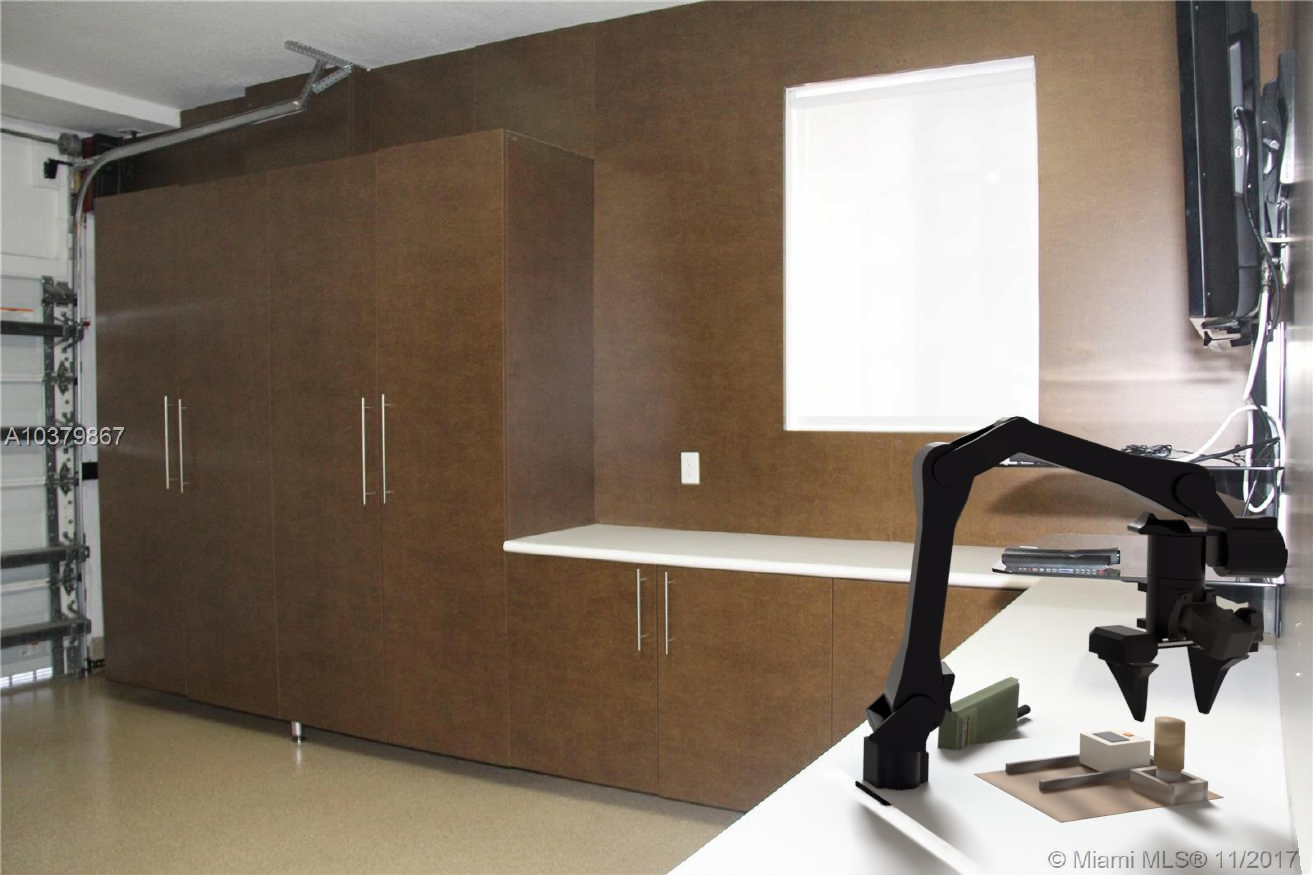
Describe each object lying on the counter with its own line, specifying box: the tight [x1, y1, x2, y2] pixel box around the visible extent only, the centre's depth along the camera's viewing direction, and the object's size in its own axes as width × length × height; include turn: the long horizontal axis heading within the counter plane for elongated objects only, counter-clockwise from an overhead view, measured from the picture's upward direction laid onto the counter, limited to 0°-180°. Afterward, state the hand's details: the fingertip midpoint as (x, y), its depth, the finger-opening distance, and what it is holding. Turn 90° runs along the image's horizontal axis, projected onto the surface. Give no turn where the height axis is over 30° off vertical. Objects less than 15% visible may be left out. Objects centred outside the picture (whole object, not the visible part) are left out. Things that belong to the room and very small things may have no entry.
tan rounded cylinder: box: [1153, 715, 1186, 784], centre depth 109 cm, size 3×3×8 cm
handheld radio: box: [936, 676, 1032, 751], centre depth 132 cm, size 7×3×25 cm
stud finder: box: [1079, 727, 1151, 772], centre depth 117 cm, size 6×5×4 cm
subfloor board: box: [973, 753, 1224, 823], centre depth 111 cm, size 22×14×4 cm, turn 109°
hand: (1171, 717), depth 109 cm, fingers open, 9 cm apart
